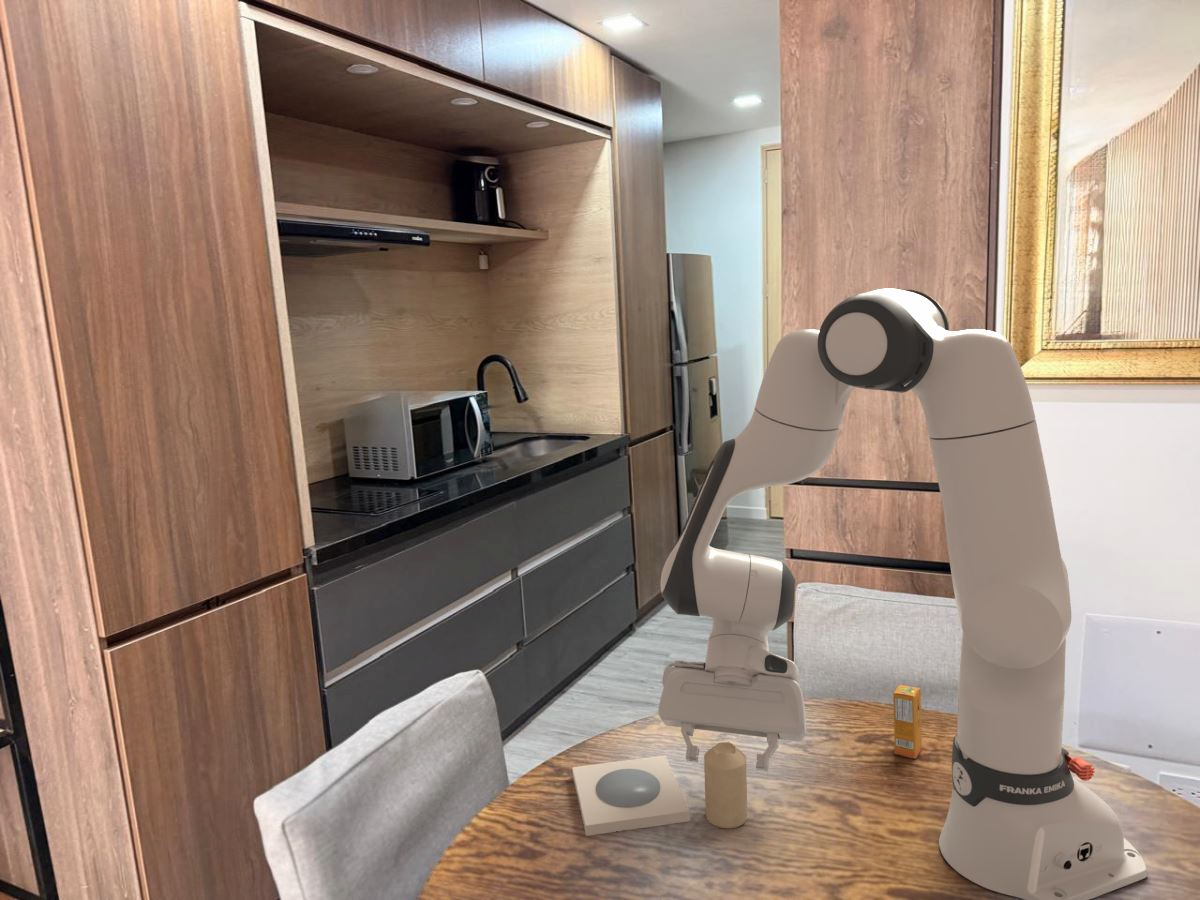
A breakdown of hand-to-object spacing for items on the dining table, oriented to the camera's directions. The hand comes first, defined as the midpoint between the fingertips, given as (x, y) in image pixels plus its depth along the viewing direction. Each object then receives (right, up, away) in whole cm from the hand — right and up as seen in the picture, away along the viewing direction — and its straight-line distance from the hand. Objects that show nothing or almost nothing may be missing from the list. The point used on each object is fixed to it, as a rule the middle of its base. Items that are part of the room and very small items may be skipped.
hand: (726, 765), depth 109 cm
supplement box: (+29, -3, +13) cm, 32 cm away
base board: (-13, -6, +5) cm, 15 cm away
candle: (0, -7, 0) cm, 7 cm away
